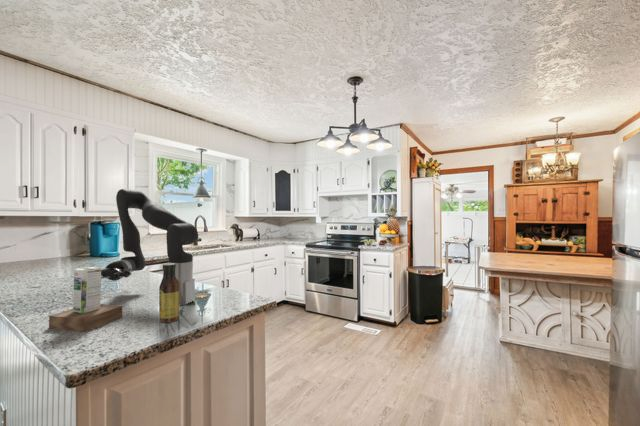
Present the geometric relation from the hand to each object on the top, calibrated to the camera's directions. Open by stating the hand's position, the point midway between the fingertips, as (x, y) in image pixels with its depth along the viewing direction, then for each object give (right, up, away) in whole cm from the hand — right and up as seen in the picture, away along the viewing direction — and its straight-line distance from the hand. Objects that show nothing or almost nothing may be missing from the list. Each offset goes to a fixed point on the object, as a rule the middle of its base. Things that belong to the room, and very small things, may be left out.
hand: (101, 277), depth 111 cm
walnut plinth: (+2, -13, -10) cm, 17 cm away
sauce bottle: (+29, -14, -8) cm, 33 cm away
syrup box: (+2, -10, -9) cm, 14 cm away
